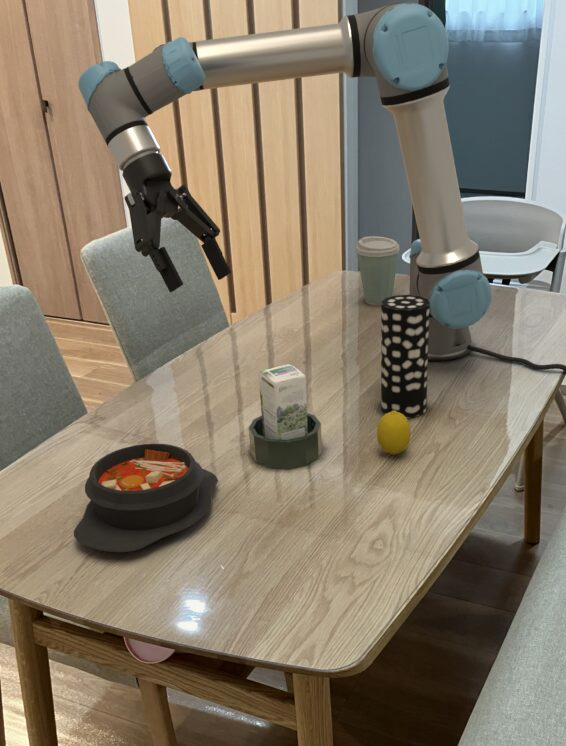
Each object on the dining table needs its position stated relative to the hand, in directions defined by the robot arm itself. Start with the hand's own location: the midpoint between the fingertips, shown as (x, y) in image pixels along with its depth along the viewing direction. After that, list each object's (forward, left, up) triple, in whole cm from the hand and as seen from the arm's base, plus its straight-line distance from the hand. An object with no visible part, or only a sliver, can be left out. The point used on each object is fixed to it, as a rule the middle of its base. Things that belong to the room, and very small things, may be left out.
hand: (201, 282), depth 139 cm
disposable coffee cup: (-22, -67, -25) cm, 75 cm away
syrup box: (-16, +13, -25) cm, 32 cm away
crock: (-16, +13, -25) cm, 32 cm away
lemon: (-34, +12, -25) cm, 44 cm away
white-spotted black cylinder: (-34, -6, -25) cm, 42 cm away
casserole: (0, +35, -25) cm, 43 cm away
